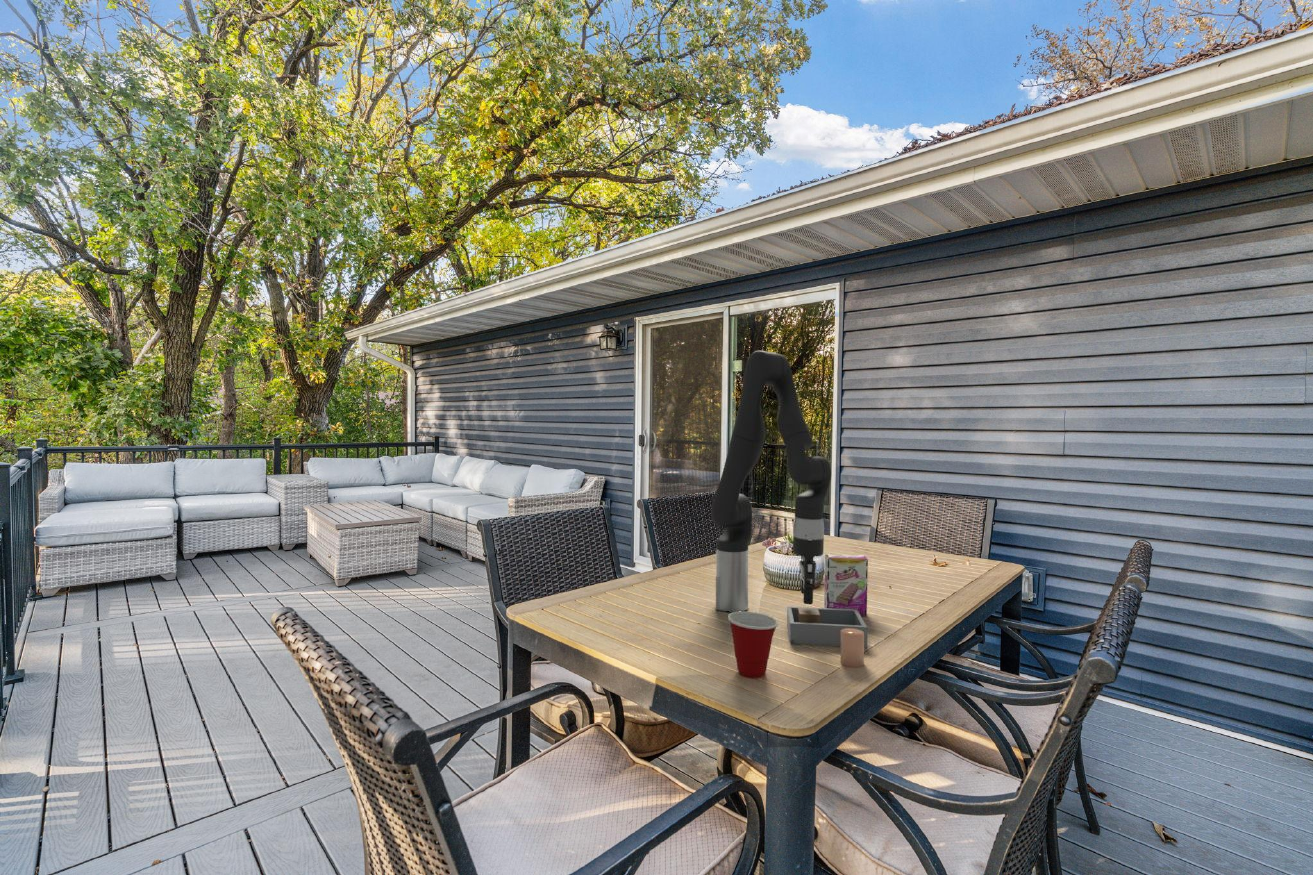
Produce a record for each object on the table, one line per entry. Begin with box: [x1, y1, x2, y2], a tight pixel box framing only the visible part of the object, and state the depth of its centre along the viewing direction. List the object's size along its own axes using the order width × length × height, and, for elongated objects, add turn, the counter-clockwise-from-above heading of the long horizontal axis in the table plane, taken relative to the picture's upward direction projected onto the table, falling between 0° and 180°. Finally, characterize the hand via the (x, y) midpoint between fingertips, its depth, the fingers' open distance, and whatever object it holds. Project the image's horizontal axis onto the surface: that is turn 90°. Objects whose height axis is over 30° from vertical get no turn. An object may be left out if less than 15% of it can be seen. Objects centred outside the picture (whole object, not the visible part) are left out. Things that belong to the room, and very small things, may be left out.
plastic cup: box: [727, 611, 779, 679], centre depth 130 cm, size 11×11×12 cm
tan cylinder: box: [840, 628, 865, 668], centre depth 135 cm, size 5×5×7 cm
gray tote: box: [786, 606, 868, 649], centre depth 152 cm, size 18×14×5 cm
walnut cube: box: [798, 608, 820, 624], centre depth 153 cm, size 5×5×5 cm
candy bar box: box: [823, 553, 869, 617], centre depth 171 cm, size 11×5×16 cm, turn 84°
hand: (806, 598), depth 153 cm, fingers open, 8 cm apart
